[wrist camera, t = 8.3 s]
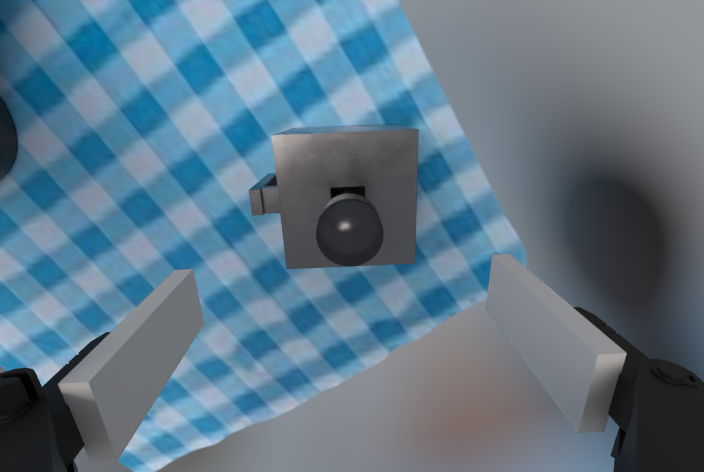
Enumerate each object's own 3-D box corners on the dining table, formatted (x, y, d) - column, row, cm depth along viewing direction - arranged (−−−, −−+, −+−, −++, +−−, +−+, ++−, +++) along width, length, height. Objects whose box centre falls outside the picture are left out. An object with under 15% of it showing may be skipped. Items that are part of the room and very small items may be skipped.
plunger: (383, 141, 39) (417, 166, 21) (383, 213, 42) (414, 291, 24) (307, 144, 39) (276, 171, 21) (313, 216, 42) (290, 296, 24)
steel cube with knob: (394, 124, 41) (418, 129, 28) (394, 220, 45) (414, 263, 32) (269, 129, 41) (234, 136, 28) (280, 224, 45) (254, 270, 32)
